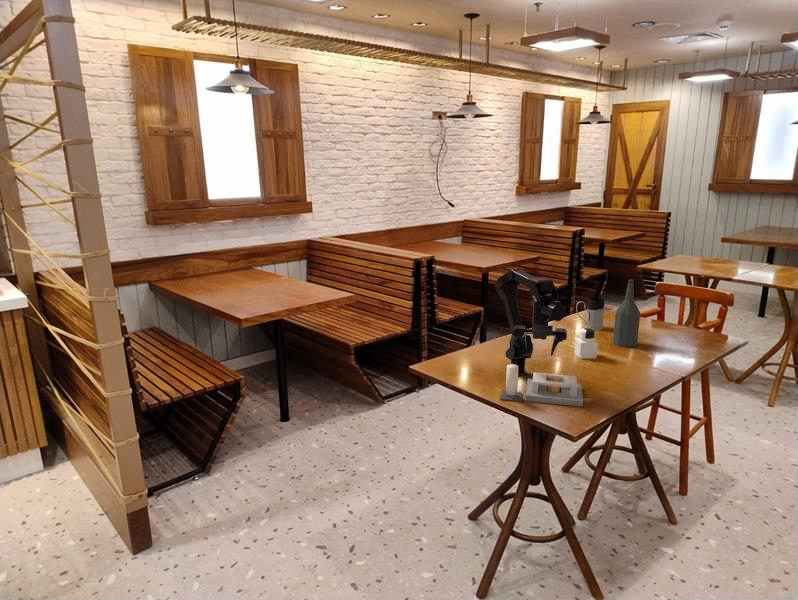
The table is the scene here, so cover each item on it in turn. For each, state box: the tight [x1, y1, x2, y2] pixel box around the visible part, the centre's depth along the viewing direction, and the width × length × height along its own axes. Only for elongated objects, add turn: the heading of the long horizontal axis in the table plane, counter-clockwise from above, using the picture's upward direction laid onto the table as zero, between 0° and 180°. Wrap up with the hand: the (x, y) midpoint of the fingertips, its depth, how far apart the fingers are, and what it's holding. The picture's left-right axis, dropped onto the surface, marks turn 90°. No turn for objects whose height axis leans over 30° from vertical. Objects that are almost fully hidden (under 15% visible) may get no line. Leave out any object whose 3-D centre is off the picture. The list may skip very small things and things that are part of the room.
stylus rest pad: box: [500, 390, 523, 403], centre depth 194 cm, size 7×7×1 cm
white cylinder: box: [505, 363, 519, 398], centre depth 192 cm, size 4×4×11 cm
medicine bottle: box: [573, 327, 599, 360], centre depth 233 cm, size 7×7×12 cm
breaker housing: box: [525, 372, 584, 408], centre depth 195 cm, size 16×19×6 cm
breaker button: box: [548, 385, 561, 393], centre depth 195 cm, size 4×4×2 cm
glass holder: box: [575, 296, 606, 331], centre depth 273 cm, size 9×14×15 cm, turn 91°
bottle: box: [612, 279, 641, 348], centre depth 246 cm, size 10×10×30 cm
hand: (538, 354), depth 201 cm, fingers open, 9 cm apart
